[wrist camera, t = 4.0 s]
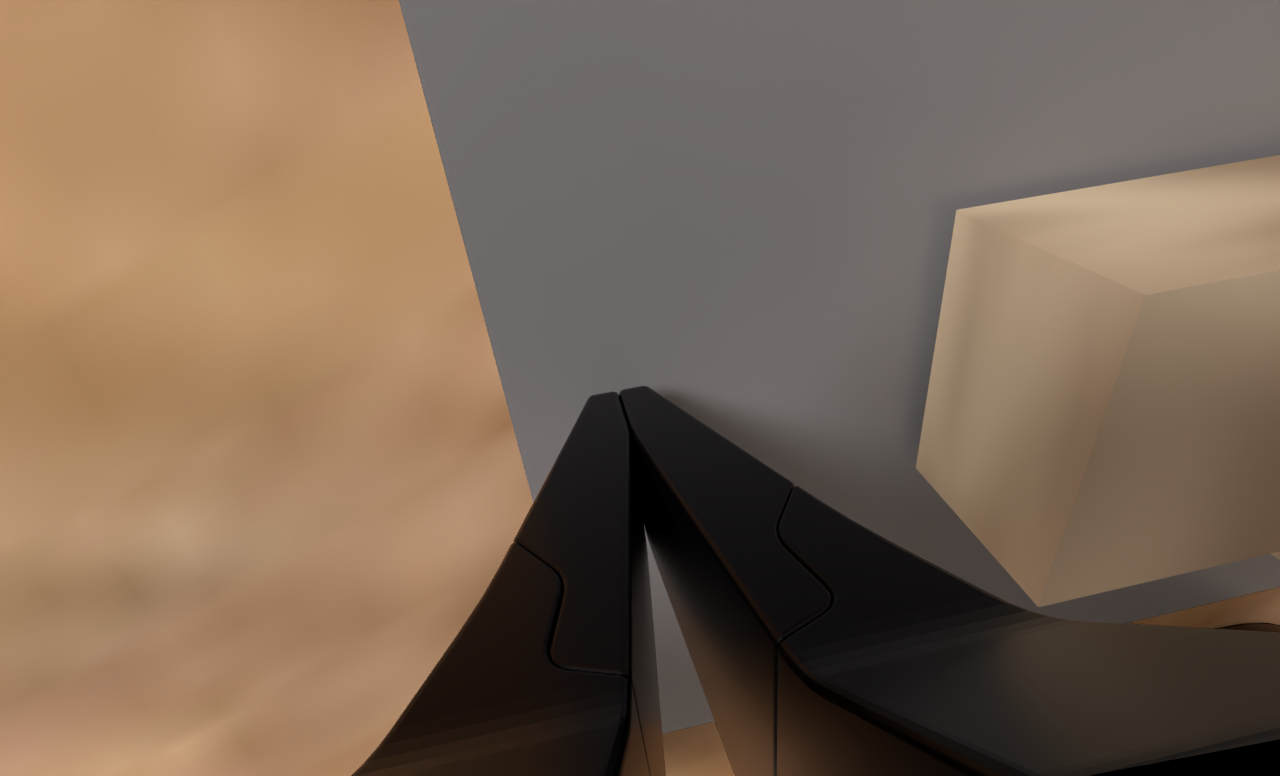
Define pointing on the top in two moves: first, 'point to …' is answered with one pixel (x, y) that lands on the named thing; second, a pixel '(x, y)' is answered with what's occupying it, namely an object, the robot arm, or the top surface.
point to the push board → (804, 217)
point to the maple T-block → (1113, 379)
